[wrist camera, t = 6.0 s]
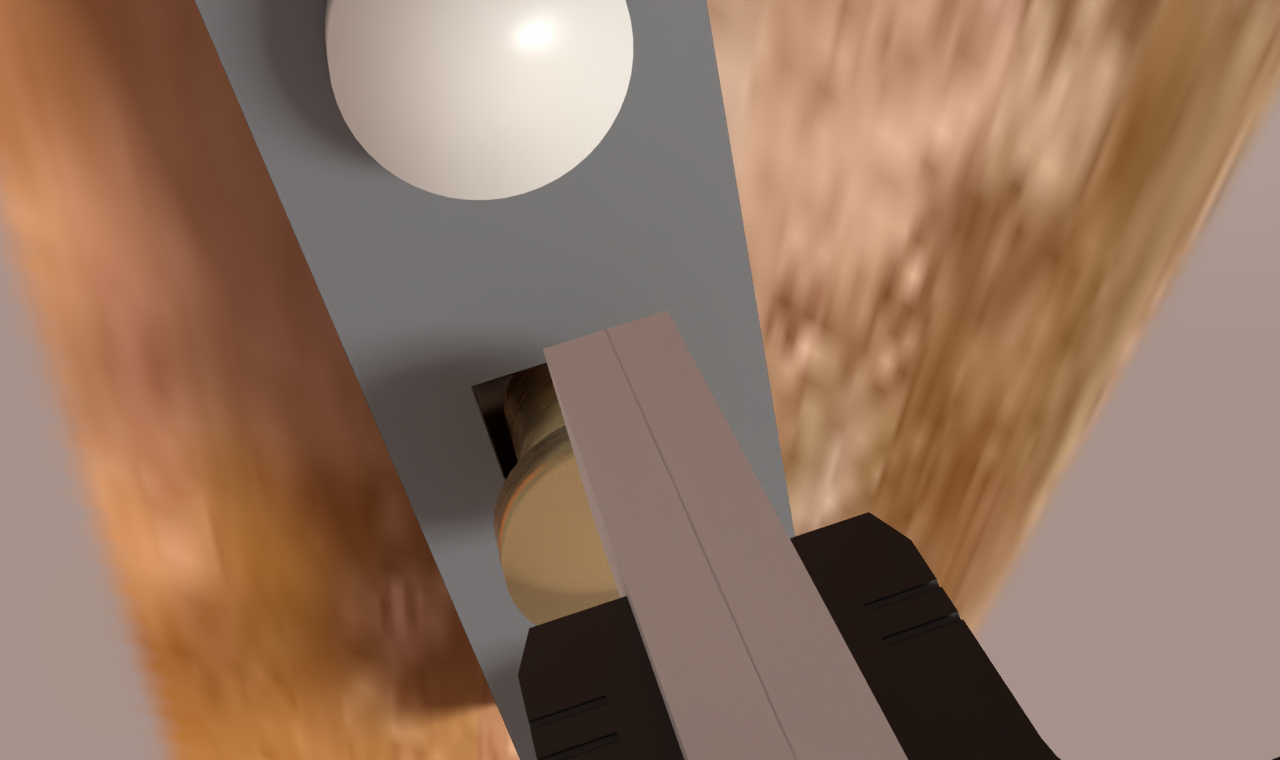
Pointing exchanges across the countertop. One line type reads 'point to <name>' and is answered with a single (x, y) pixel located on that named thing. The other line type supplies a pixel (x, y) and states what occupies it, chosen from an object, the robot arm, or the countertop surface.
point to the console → (508, 276)
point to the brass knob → (547, 511)
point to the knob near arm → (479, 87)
